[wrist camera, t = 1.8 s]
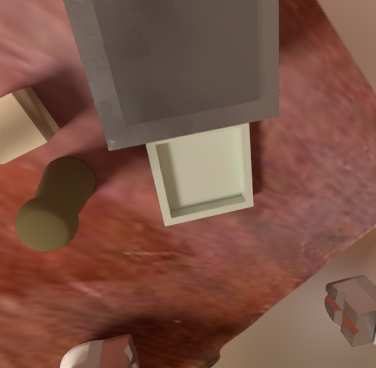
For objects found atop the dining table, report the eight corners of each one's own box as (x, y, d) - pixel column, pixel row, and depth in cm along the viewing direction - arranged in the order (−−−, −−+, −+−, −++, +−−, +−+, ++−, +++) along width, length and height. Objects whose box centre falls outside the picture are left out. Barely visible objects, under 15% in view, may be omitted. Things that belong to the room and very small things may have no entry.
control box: (92, 5, 26) (50, -36, 14) (213, -14, 27) (282, -70, 14) (120, 113, 31) (109, 157, 18) (223, 93, 32) (281, 122, 19)
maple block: (-12, 107, 29) (-39, 117, 24) (30, 86, 28) (11, 92, 24) (21, 148, 31) (1, 164, 27) (60, 128, 31) (47, 142, 26)
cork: (39, 196, 34) (-1, 255, 24) (47, 150, 31) (6, 196, 22) (90, 206, 35) (72, 266, 26) (100, 164, 33) (86, 212, 23)
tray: (143, 132, 32) (144, 138, 30) (241, 113, 33) (248, 117, 31) (163, 216, 38) (165, 226, 36) (247, 198, 39) (253, 206, 37)
